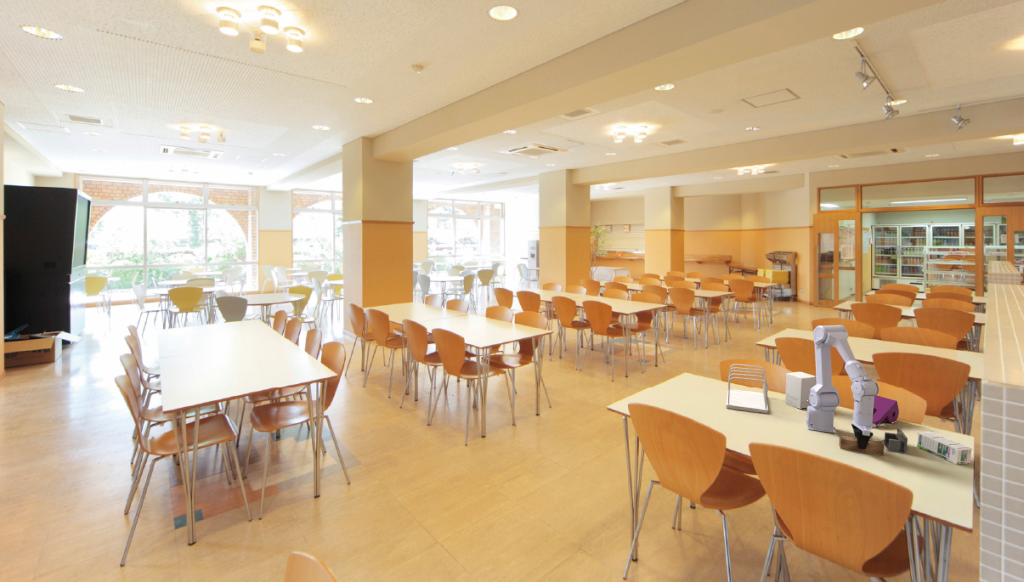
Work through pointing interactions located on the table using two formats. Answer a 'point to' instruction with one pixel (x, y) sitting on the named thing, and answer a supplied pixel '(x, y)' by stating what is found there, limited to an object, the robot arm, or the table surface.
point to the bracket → (895, 441)
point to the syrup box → (944, 447)
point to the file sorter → (747, 393)
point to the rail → (852, 445)
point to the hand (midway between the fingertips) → (860, 446)
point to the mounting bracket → (884, 410)
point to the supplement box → (799, 389)
